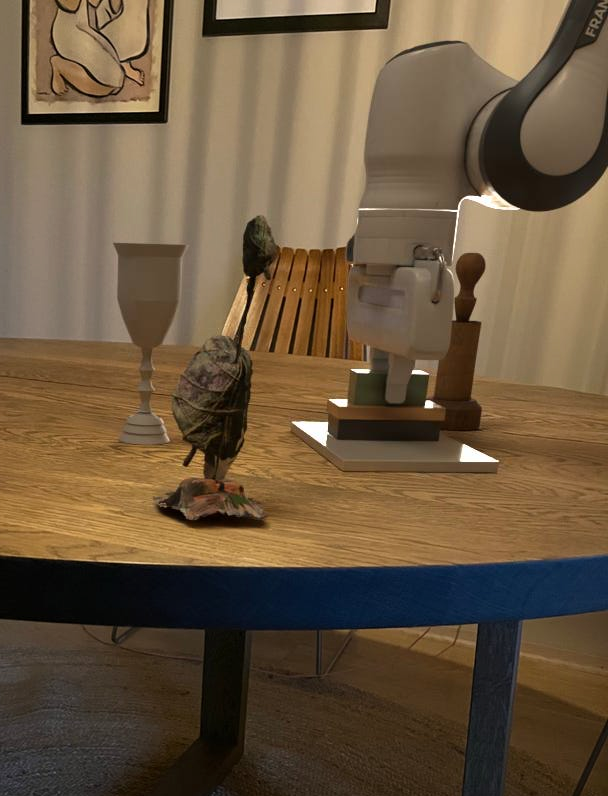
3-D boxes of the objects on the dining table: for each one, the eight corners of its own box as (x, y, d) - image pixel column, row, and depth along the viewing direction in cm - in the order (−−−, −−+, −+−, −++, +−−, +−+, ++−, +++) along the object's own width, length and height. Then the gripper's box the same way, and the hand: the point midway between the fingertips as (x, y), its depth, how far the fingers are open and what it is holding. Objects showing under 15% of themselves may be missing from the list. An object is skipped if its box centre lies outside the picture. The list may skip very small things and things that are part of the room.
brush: (426, 433, 103) (434, 369, 101) (441, 442, 99) (451, 375, 97) (323, 431, 102) (330, 367, 100) (335, 440, 98) (342, 373, 96)
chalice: (145, 449, 97) (152, 243, 90) (93, 439, 101) (96, 242, 94) (194, 440, 102) (204, 245, 95) (143, 431, 106) (149, 243, 99)
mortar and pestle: (408, 425, 114) (430, 251, 107) (429, 418, 119) (451, 251, 112) (468, 433, 110) (495, 253, 104) (486, 425, 115) (513, 253, 109)
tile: (419, 433, 109) (421, 423, 109) (497, 472, 91) (499, 461, 90) (290, 431, 108) (291, 421, 108) (342, 471, 90) (343, 460, 89)
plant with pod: (253, 493, 81) (273, 218, 74) (273, 531, 70) (299, 214, 63) (150, 490, 81) (160, 214, 73) (154, 528, 70) (166, 210, 63)
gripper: (482, 247, 85) (458, 417, 90) (402, 245, 104) (386, 385, 109) (407, 245, 84) (388, 416, 89) (341, 244, 103) (328, 385, 108)
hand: (386, 399), depth 99 cm, fingers closed on brush, 2 cm apart
